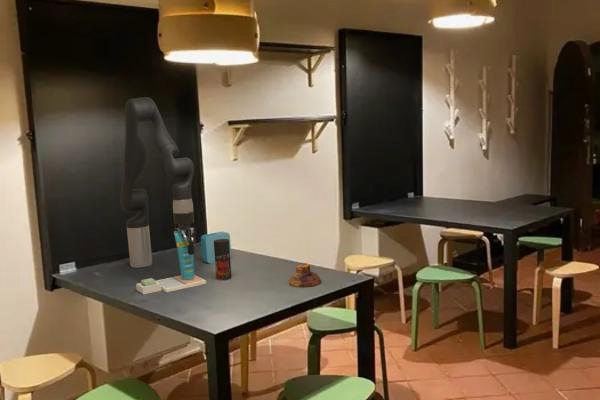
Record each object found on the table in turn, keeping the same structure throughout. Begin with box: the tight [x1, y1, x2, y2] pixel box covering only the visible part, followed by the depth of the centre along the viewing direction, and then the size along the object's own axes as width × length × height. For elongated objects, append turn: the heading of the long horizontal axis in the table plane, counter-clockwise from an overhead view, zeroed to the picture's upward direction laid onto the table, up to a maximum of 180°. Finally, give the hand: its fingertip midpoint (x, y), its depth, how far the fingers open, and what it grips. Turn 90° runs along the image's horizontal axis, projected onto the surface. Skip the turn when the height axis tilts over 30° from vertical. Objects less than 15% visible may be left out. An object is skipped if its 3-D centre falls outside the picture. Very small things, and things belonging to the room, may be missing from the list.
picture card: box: [156, 274, 207, 293], centre depth 242 cm, size 14×16×1 cm
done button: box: [140, 277, 156, 286], centre depth 235 cm, size 4×4×2 cm
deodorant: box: [214, 239, 233, 281], centre depth 245 cm, size 6×6×15 cm
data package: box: [200, 231, 232, 264], centre depth 275 cm, size 12×4×12 cm, turn 127°
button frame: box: [135, 280, 163, 295], centre depth 235 cm, size 7×7×2 cm
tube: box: [173, 230, 195, 280], centre depth 242 cm, size 7×5×19 cm, turn 124°
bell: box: [288, 262, 322, 288], centre depth 234 cm, size 12×12×7 cm
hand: (186, 252), depth 242 cm, fingers open, 8 cm apart
